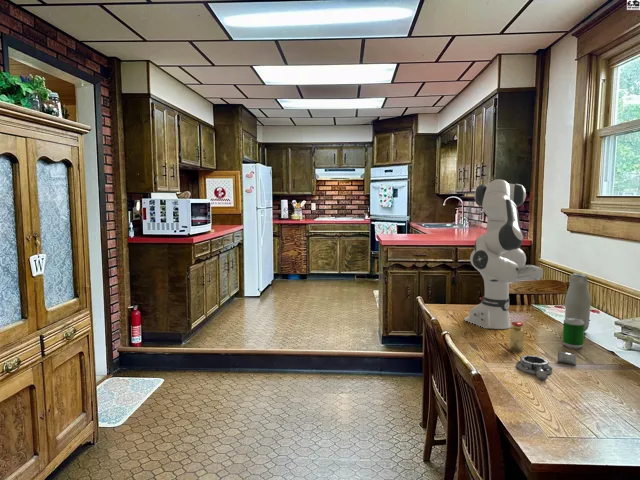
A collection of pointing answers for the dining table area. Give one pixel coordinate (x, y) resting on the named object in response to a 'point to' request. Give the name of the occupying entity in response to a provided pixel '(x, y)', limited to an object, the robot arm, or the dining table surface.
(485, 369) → the dining table surface
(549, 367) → the flange fitting
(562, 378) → the dining table surface
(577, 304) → the grey bottle
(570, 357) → the block
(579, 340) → the soda can
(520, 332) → the red capped jar
